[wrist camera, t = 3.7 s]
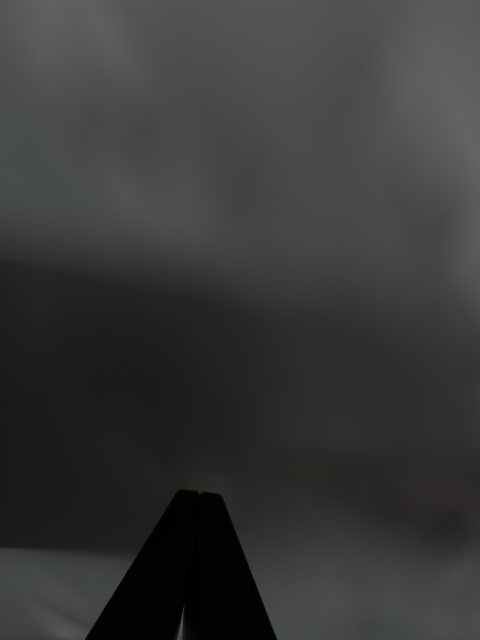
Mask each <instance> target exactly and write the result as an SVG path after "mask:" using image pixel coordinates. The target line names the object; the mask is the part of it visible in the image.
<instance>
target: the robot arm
mask: <svg viewBox="0 0 480 640" xmlns="http://www.w3.org/2000/svg"><path fill="white" fill-rule="evenodd" d="M183 608H184V612H183ZM182 613H183V635H182V640H277V638H276V635H275V633H274V630H273V627H272V625H271V622H270V620H269V617H268V614H267V612H266V609H265V607H264V604H263V601H262V599H261V596H260V594H259V591H258V588H257V586H256V583H255V581H254V578H253V575H252V573H251V570H250V568H249V565H248V562H247V560H246V557H245V555H244V552H243V549H242V547H241V544H240V542H239V539H238V536H237V534H236V531H235V529H234V526H233V523H232V521H231V518H230V516H229V513H228V510H227V508H226V505H225V503H224V500H223V498H222V496H221V495H220V494H218V493H210V492H202V493H200V495H199V493H198V492H197V491H193V490H185V489H180V490H178V491H177V492H176V494H175V495H174V497H173V498H172V500H171V502H170V503H169V505H168V506H167V508H166V510H165V511H164V513H163V515H162V516H161V518H160V519H159V521H158V523H157V524H156V526H155V527H154V529H153V531H152V532H151V534H150V535H149V537H148V539H147V540H146V542H145V544H144V545H143V547H142V548H141V550H140V552H139V553H138V555H137V556H136V558H135V560H134V561H133V563H132V564H131V566H130V568H129V569H128V571H127V573H126V574H125V576H124V577H123V579H122V581H121V582H120V584H119V585H118V587H117V589H116V590H115V592H114V594H113V595H112V597H111V598H110V600H109V602H108V603H107V605H106V606H105V608H104V610H103V611H102V613H101V614H100V616H99V618H98V619H97V621H96V623H95V624H94V626H93V627H92V629H91V631H90V632H89V634H88V635H87V637H86V639H85V640H177V637H178V633H179V628H180V623H181V618H182Z"/></svg>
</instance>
